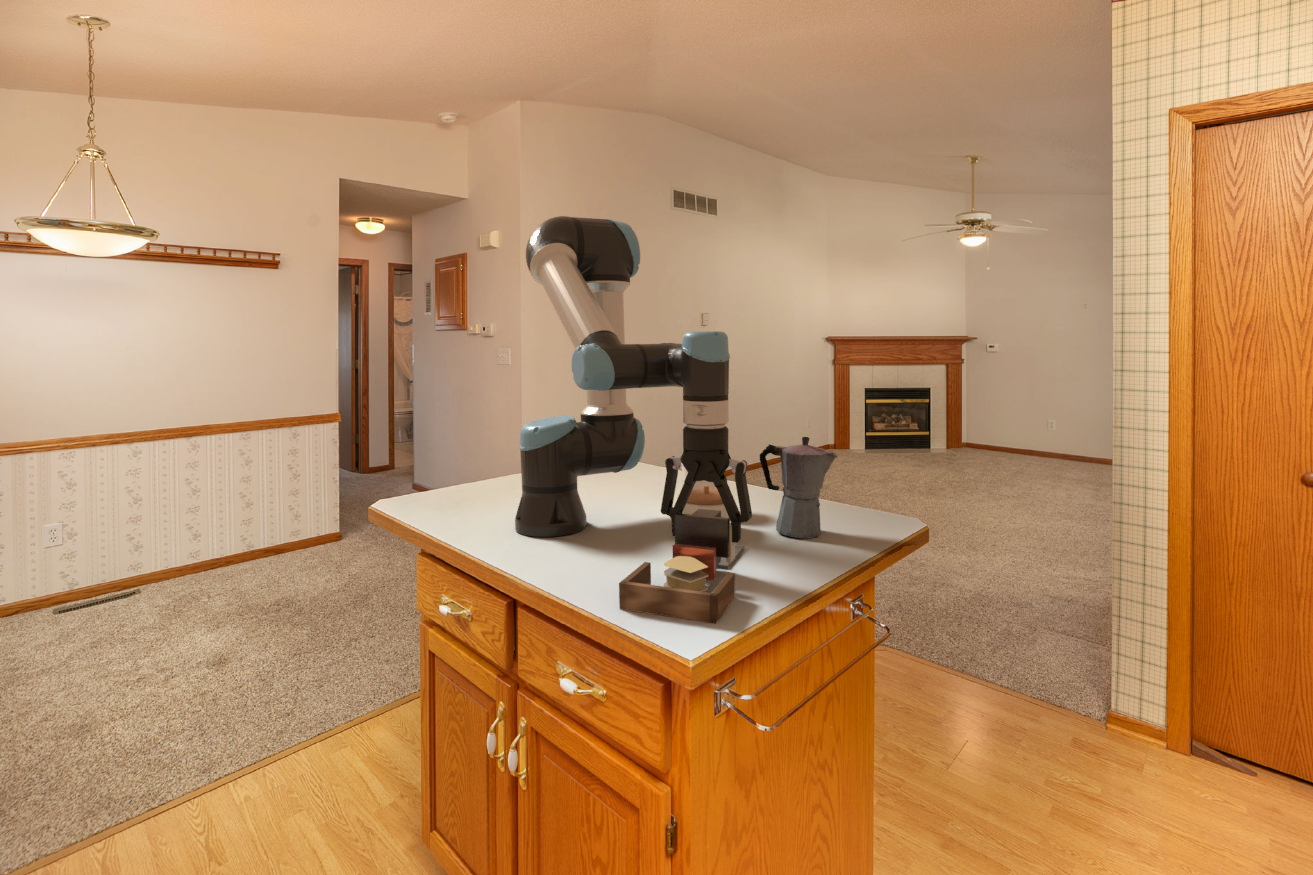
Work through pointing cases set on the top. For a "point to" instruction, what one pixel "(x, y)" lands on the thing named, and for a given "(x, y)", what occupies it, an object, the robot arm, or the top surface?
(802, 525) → the moka pot
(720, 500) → the lidded jar
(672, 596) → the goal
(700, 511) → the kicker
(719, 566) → the grey flat block
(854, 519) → the top surface
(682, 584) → the stacked layers on plate
